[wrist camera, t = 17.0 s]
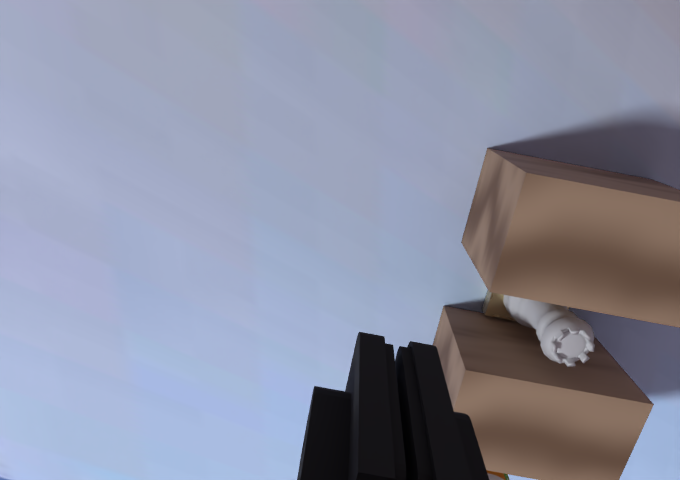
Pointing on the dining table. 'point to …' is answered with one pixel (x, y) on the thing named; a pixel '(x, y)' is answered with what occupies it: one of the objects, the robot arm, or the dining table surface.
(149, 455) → the dining table surface
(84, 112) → the dining table surface
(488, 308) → the gold metallic block
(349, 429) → the robot arm
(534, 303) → the rook chess piece
